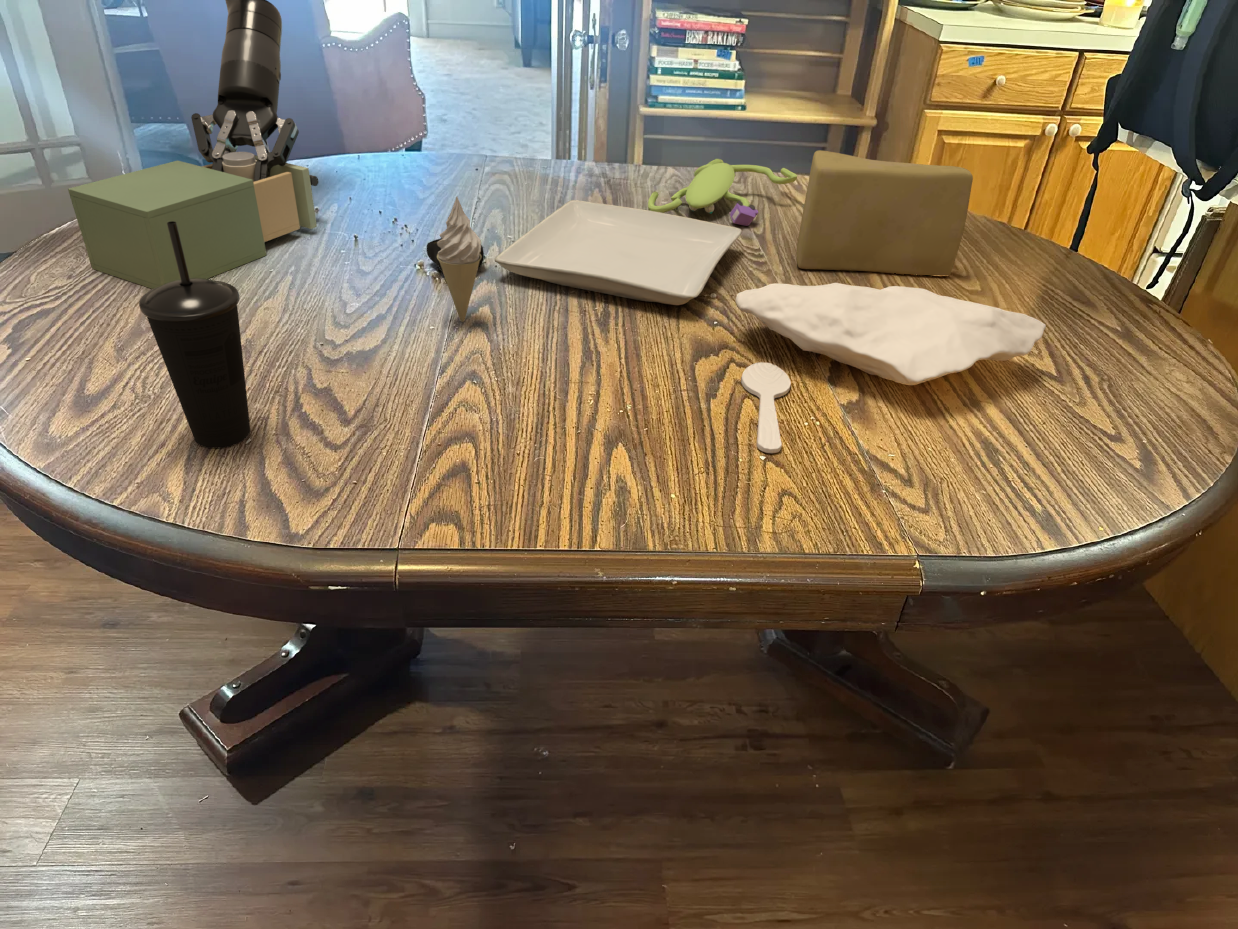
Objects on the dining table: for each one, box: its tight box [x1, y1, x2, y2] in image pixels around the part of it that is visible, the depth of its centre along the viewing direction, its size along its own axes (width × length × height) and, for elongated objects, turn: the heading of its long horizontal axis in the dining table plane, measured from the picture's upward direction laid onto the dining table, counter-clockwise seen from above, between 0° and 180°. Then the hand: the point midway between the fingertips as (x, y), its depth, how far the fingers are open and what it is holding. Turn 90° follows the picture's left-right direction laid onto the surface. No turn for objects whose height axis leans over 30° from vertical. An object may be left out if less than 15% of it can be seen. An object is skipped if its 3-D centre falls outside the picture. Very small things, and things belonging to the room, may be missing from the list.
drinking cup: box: [138, 221, 251, 449], centre depth 73 cm, size 8×8×20 cm
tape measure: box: [426, 237, 485, 273], centre depth 113 cm, size 7×7×4 cm
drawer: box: [201, 154, 319, 243], centre depth 118 cm, size 19×12×8 cm, turn 153°
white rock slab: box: [735, 282, 1047, 386], centre depth 97 cm, size 24×35×9 cm
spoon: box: [740, 361, 792, 454], centre depth 89 cm, size 5×18×1 cm, turn 173°
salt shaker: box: [222, 151, 257, 182], centre depth 116 cm, size 4×4×8 cm
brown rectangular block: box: [795, 149, 974, 276], centre depth 120 cm, size 22×10×15 cm, turn 81°
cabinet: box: [67, 160, 267, 290], centre depth 108 cm, size 16×14×10 cm
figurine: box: [647, 158, 798, 227], centre depth 143 cm, size 18×27×6 cm
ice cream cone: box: [437, 195, 482, 323], centre depth 97 cm, size 5×5×15 cm
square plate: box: [494, 199, 742, 306], centre depth 118 cm, size 27×27×4 cm
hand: (239, 189), depth 114 cm, fingers closed on salt shaker, 4 cm apart
